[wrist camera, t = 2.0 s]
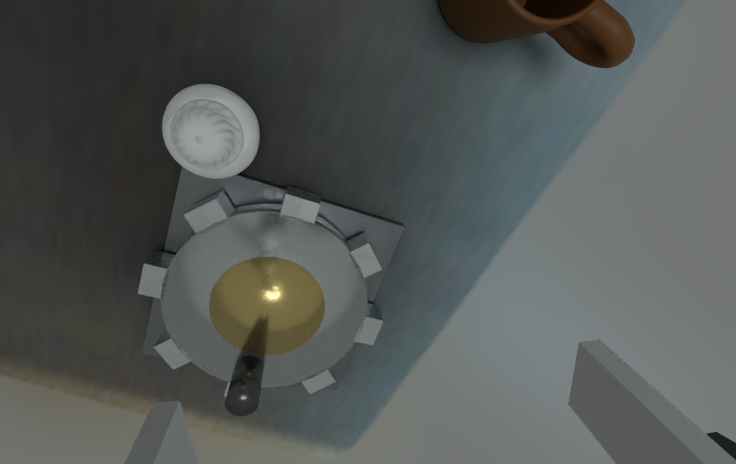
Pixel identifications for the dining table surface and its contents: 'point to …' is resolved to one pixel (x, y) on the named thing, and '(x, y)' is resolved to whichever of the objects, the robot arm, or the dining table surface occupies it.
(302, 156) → the dining table surface
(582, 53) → the mug
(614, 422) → the robot arm
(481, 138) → the dining table surface
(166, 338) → the sprocket
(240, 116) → the muffin
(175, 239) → the base plate
